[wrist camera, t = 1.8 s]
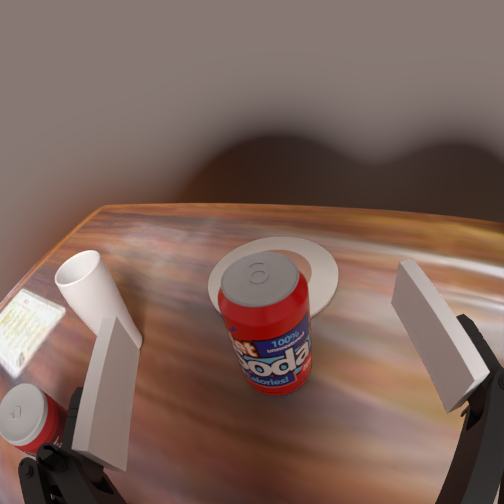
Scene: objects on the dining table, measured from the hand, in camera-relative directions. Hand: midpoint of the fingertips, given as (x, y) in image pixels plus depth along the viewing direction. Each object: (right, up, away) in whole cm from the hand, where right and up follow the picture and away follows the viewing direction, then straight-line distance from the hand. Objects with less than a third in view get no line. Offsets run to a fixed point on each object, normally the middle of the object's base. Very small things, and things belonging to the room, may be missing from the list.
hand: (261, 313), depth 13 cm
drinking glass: (-18, -11, +27) cm, 34 cm away
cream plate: (+3, -1, +33) cm, 33 cm away
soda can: (+3, -11, +20) cm, 23 cm away
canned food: (-22, -22, +13) cm, 34 cm away
